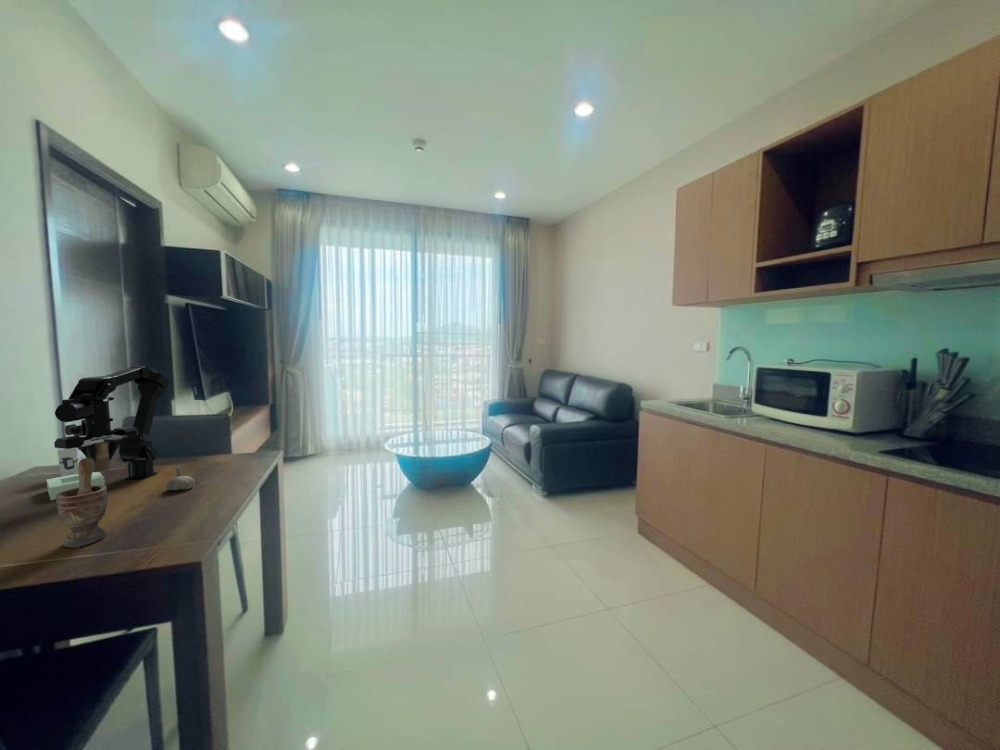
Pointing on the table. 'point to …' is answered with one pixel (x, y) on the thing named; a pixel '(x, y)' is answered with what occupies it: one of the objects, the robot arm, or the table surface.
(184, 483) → the garlic bulb
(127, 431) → the robot arm
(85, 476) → the mortar and pestle
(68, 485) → the socket block
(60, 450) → the ink box
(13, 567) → the table surface
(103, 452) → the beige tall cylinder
